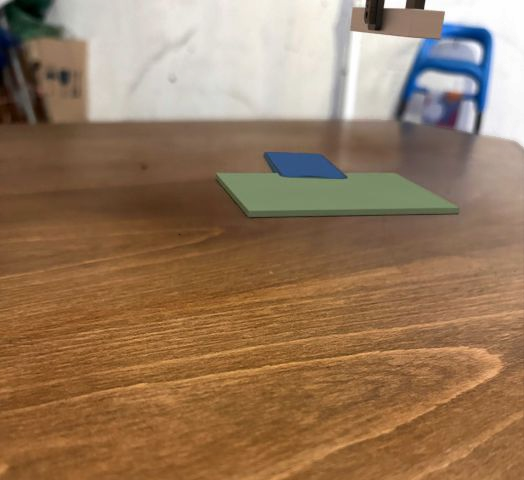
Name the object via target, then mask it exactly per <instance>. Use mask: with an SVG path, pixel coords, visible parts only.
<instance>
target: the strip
mask: <svg viewBox="0 0 524 480" xmlns="http://www.w3.org/2000/svg"><path fill="white" fill-rule="evenodd" d="M351 9H352V10H351V16H350V17H351V19H350V25H349V26H350V27H349V31H350V32H355V33H356V32H357V33H358V32H359V33H364V34H374V35H383V36H384V35H385V36H392V37H399V38H400V37H402V38H412V39H424V40H425V39H427V40H437V41H439V40H441V38H442V32H443V28H444V20H445V15H446V11H444V10H435V9H434V10H433V9H424V10H423V9H405V7H404V8H403V7H402V8H401V7H399V8H398V7H384V11H383V18H382V26H381V29H380V31H372V30H368V24H365V22H364V13H365V6H363V7H362V6H361V7H360V6H359V7H358V6H353V7H352V8H351Z"/></svg>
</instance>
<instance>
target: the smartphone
mask: <svg viewBox="0 0 524 480" xmlns="http://www.w3.org/2000/svg"><path fill="white" fill-rule="evenodd" d="M263 158H264V159H265V161H266V163H267V165H268V166H269V168H270V170H271V171H272V173H278V174H279V176H282V177H288V178H317V179H347V178H348V177H347V176H346V175H345V174H344V173H345V172H343V171H342V170H341V169H340V168H338V166H336V165H335V164H334V163H332V161H330V160H329V159H328V158H327V157H326V156H325V155H323V154H321V153H311V152H307V153H306V152H289V151H288V152H287V151H264V152H263Z"/></svg>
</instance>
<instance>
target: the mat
mask: <svg viewBox="0 0 524 480" xmlns="http://www.w3.org/2000/svg"><path fill="white" fill-rule="evenodd" d="M343 173H344V174H345V175H346V176H347V177H348V178H347V179H317V178H288V177H282V176H279V174H278V173H273V172H215V180H216V181H217V182H218V183H219V184H220V186H221V187H222V188H223V189H224V190H225V191H226V193H227V194H228V195H229V197H231V198H232V200H233V201H234V202H235V203H236V204H237V206H238V207H239V208H240V209H241V211H243V213H244V214H245V215H246V217H248V218H284V217H285V218H287V217H289V218H291V217H294V218H295V217H341V216H346V217H347V216H348V217H349V216H351V217H352V216H397V215H398V216H401V215H403V216H404V215H458V214H459V212H460V207H459V206H457V205H456V204H454V203H452V202H451V201H449V200H446V199H444V198H442V197H441V196H439V195H437V194H435V193H433V192H432V191H429V190H428V189H426V188H423V187H421V186H420V185H418V184H417V183H414V182H412V181H411V180H409V179H407V178H405V177H403V176H402V175H400V174H398V173H396V172H343Z"/></svg>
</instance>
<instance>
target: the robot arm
mask: <svg viewBox="0 0 524 480" xmlns="http://www.w3.org/2000/svg"><path fill="white" fill-rule="evenodd" d="M385 4H386V0H365V5H364V7H365V13H364V22H365V24H368V30H372V31H380V29H381V26H382V18H383V11H384V8H385ZM425 6H426V0H405V6H404V8H405V9H423V10H425Z"/></svg>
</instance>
